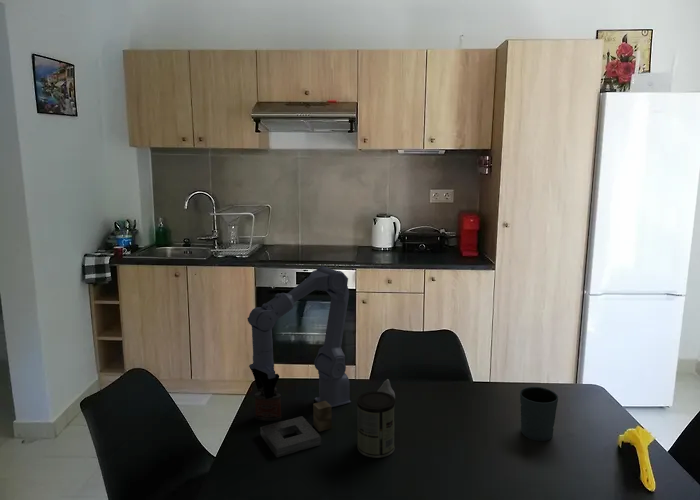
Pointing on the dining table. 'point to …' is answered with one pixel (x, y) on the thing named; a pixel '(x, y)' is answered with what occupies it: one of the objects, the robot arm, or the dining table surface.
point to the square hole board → (286, 446)
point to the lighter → (267, 406)
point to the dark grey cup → (538, 412)
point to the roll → (386, 388)
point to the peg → (322, 416)
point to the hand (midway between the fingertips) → (264, 392)
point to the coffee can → (376, 424)
